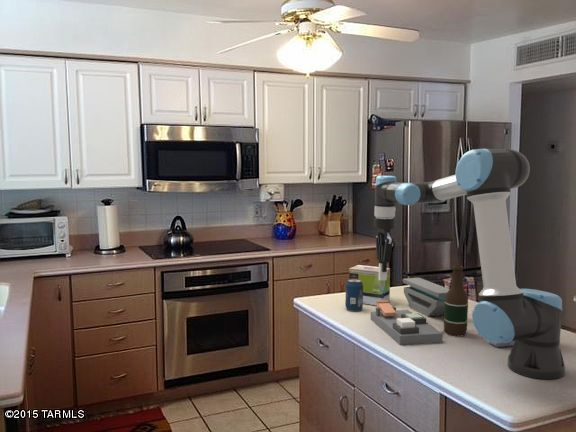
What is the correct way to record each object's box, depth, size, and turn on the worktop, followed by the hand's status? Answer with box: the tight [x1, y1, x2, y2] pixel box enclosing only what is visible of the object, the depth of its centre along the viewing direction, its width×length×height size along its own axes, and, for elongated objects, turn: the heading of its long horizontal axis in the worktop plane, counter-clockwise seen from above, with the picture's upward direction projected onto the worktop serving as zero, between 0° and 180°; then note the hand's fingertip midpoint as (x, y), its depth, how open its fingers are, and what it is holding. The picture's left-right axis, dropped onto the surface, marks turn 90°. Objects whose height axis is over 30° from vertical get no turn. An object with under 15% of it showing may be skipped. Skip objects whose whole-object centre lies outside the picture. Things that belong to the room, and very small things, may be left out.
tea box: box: [348, 264, 391, 306], centre depth 226 cm, size 15×10×15 cm, turn 58°
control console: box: [370, 305, 444, 346], centre depth 189 cm, size 28×15×6 cm, turn 11°
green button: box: [405, 312, 424, 319], centre depth 190 cm, size 5×5×2 cm
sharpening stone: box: [402, 277, 450, 317], centre depth 212 cm, size 25×8×11 cm, turn 20°
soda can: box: [344, 278, 364, 312], centre depth 214 cm, size 7×7×12 cm
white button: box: [397, 318, 415, 328], centre depth 180 cm, size 5×5×2 cm
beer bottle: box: [443, 264, 469, 337], centre depth 186 cm, size 8×8×24 cm
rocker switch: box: [375, 300, 396, 316], centre depth 197 cm, size 9×4×2 cm, turn 11°
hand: (382, 279), depth 200 cm, fingers closed
